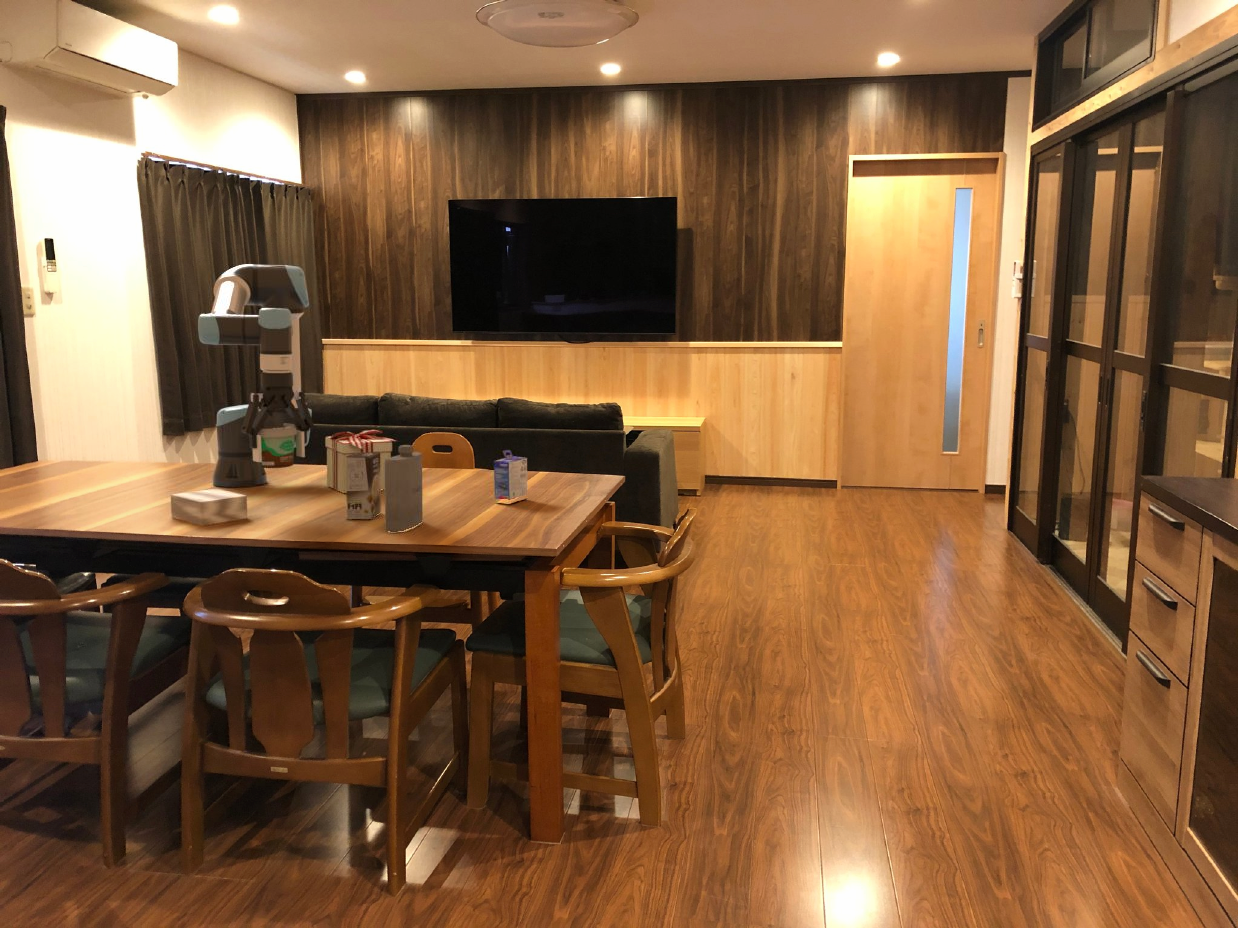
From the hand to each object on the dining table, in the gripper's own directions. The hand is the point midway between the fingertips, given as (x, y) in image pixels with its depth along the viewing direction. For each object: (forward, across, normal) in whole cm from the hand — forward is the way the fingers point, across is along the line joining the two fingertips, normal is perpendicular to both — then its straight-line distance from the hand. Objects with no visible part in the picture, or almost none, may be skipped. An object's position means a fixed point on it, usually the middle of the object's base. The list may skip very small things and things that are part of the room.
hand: (279, 458), depth 238 cm
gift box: (+15, +38, +19) cm, 45 cm away
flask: (+15, +15, -31) cm, 38 cm away
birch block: (+15, -13, +11) cm, 23 cm away
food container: (+2, +1, 0) cm, 3 cm away
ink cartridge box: (+15, +56, -25) cm, 63 cm away
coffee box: (+15, +15, -14) cm, 25 cm away
